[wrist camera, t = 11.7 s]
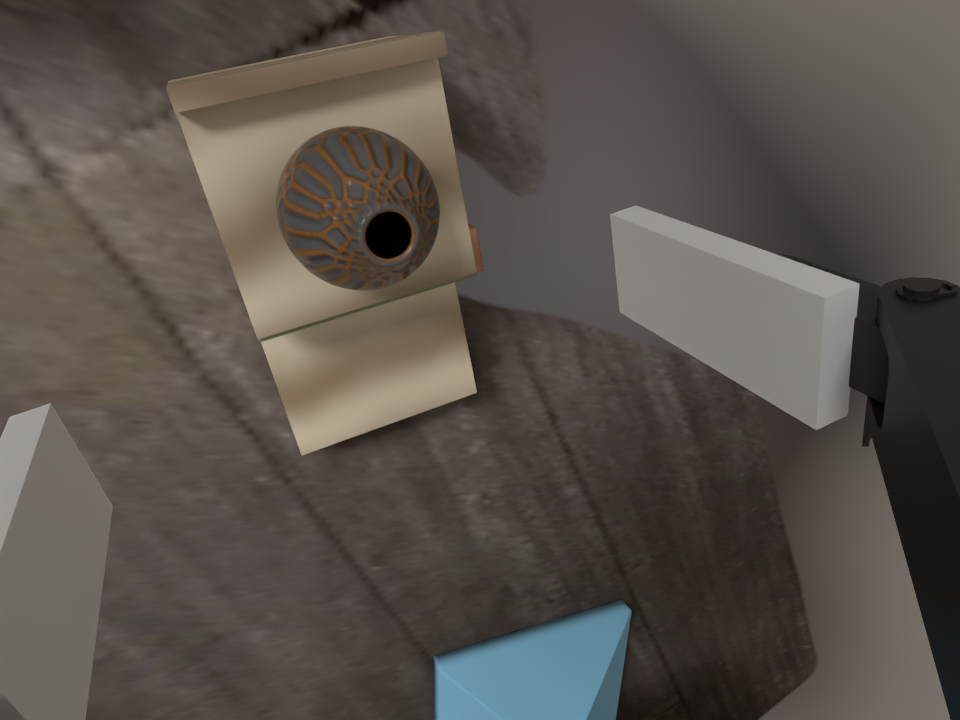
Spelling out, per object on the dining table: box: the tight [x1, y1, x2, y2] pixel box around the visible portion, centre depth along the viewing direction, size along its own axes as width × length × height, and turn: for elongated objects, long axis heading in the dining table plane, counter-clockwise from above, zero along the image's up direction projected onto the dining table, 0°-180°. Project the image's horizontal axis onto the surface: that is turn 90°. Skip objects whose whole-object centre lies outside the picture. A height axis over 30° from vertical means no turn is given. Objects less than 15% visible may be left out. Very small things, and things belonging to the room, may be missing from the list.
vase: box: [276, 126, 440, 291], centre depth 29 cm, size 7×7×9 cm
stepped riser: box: [166, 31, 483, 455], centre depth 38 cm, size 22×12×10 cm, turn 11°
